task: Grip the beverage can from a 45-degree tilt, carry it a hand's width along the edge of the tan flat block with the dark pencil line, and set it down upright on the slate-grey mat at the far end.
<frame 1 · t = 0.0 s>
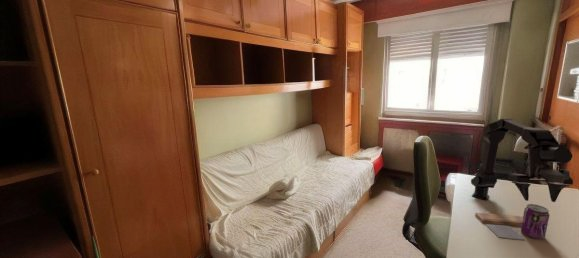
hand: (539, 201, 96), 15 cm above the table, tool pointing down, fingers open, 9 cm apart
slate mat: (504, 232, 102), on the table
tan flat block: (504, 221, 110), on the table
beverage can: (532, 235, 100), on the table
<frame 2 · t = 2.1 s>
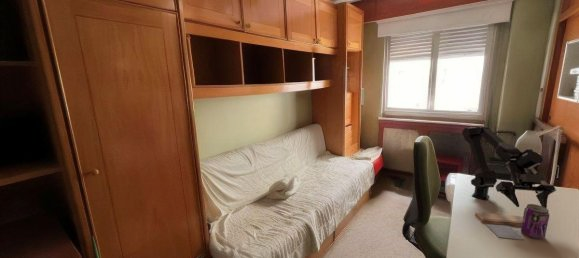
hand: (531, 208, 101), 10 cm above the table, tool tilted 45°, fingers open, 9 cm apart
nothing on the table moved.
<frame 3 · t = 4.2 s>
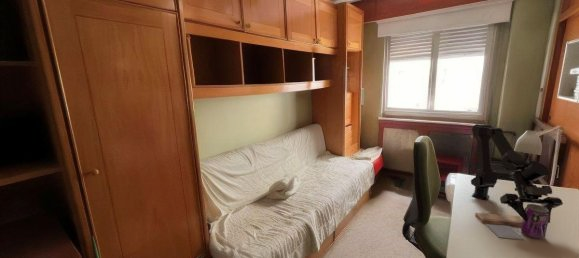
hand: (537, 221, 98), 7 cm above the table, tool tilted 45°, fingers closed on beverage can, 7 cm apart
beverage can: (532, 235, 100), on the table, touching gripper
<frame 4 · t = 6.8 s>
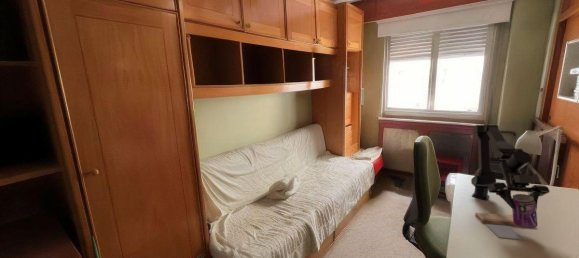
hand: (524, 209, 98), 11 cm above the table, tool tilted 45°, fingers closed on beverage can, 7 cm apart
beverage can: (525, 225, 100), point 4 cm above the table, touching gripper
when the fingers open (8 cm above the table, at t = 9.7 s): beverage can stays where it is, resting on slate mat.
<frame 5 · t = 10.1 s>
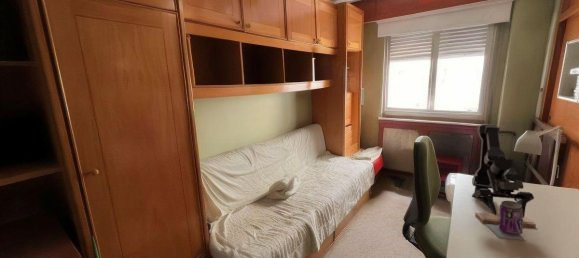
hand: (509, 216, 99), 8 cm above the table, tool tilted 45°, fingers open, 9 cm apart
beverage can: (510, 231, 102), point 1 cm above the table, touching gripper, slate mat
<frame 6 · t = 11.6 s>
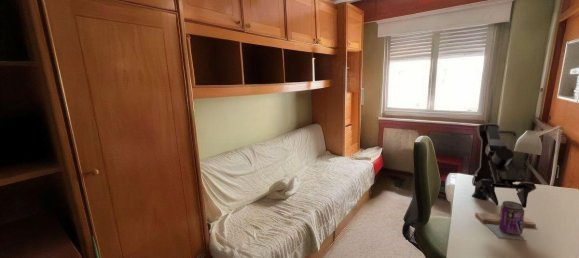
hand: (511, 206, 98), 12 cm above the table, tool tilted 45°, fingers open, 9 cm apart
nothing on the table moved.
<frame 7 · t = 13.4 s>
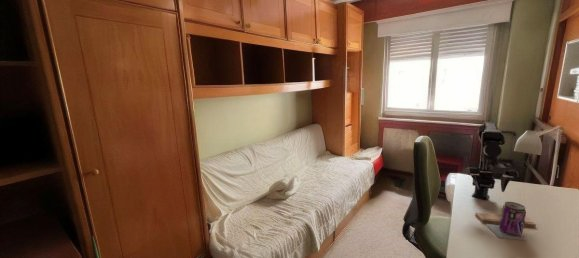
hand: (491, 190, 114), 12 cm above the table, tool tilted 15°, fingers open, 9 cm apart
beverage can: (510, 232, 102), resting on slate mat
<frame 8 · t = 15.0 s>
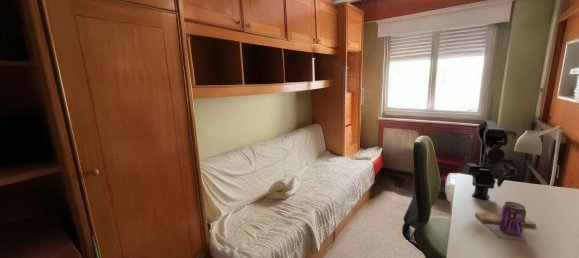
hand: (487, 185, 118), 12 cm above the table, tool pointing down, fingers open, 9 cm apart
nothing on the table moved.
at the end: beverage can inside the target area (2.1 cm from its centre), resting on slate mat; beverage can tilted 0°; the gripper is holding nothing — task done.
